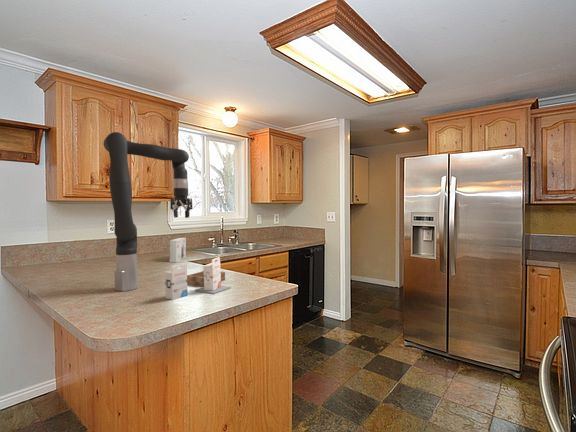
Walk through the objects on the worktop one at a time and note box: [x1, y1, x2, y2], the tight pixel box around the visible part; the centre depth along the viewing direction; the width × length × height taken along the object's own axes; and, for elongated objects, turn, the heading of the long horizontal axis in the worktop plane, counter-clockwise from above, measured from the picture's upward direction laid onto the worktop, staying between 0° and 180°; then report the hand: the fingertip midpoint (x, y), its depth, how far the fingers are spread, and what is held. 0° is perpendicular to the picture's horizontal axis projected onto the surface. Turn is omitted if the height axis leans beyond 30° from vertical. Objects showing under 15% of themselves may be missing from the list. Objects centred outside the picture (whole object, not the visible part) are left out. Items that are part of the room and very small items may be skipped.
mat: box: [194, 285, 232, 295], centre depth 156 cm, size 12×12×1 cm
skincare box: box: [169, 237, 187, 263], centre depth 243 cm, size 21×6×16 cm, turn 179°
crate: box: [187, 270, 226, 288], centre depth 171 cm, size 12×16×4 cm
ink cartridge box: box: [203, 256, 222, 291], centre depth 156 cm, size 9×5×15 cm, turn 166°
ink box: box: [164, 262, 189, 301], centre depth 144 cm, size 9×5×15 cm, turn 148°
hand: (181, 217), depth 176 cm, fingers open, 8 cm apart
